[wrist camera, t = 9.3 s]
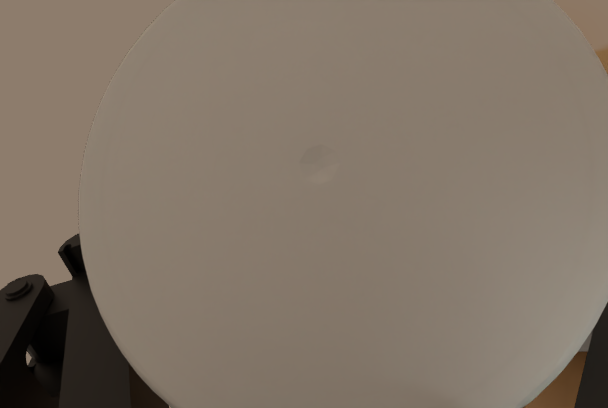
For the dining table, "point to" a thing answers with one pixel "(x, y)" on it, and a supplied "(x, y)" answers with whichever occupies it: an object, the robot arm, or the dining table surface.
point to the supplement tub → (350, 202)
